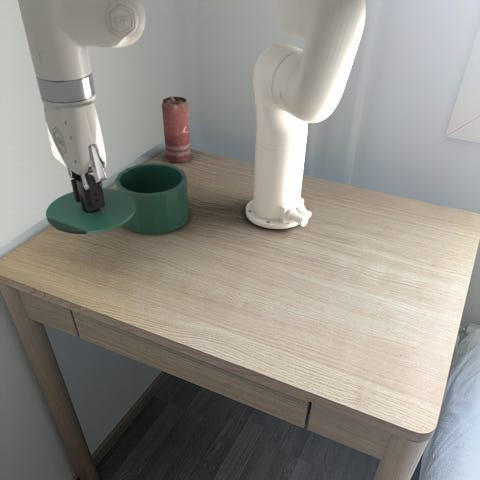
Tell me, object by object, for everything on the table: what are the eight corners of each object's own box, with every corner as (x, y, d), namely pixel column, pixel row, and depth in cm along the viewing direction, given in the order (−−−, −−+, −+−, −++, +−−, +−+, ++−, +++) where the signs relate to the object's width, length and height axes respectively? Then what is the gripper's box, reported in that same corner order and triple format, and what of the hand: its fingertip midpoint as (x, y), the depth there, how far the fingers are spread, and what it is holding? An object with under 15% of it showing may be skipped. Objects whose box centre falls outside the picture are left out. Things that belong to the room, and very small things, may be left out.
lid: (152, 217, 83) (148, 181, 79) (72, 248, 76) (63, 210, 71) (109, 185, 91) (103, 151, 87) (32, 210, 84) (22, 174, 79)
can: (181, 150, 126) (177, 93, 116) (195, 159, 122) (193, 100, 113) (161, 157, 123) (155, 98, 113) (175, 165, 119) (171, 106, 110)
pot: (201, 219, 101) (200, 180, 96) (145, 242, 95) (140, 202, 89) (164, 194, 109) (160, 157, 103) (109, 214, 102) (102, 175, 96)
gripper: (17, 78, 72) (47, 192, 85) (68, 109, 63) (94, 232, 76) (65, 69, 76) (87, 180, 89) (119, 97, 67) (136, 216, 79)
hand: (90, 203), depth 82 cm, fingers closed on lid, 3 cm apart
